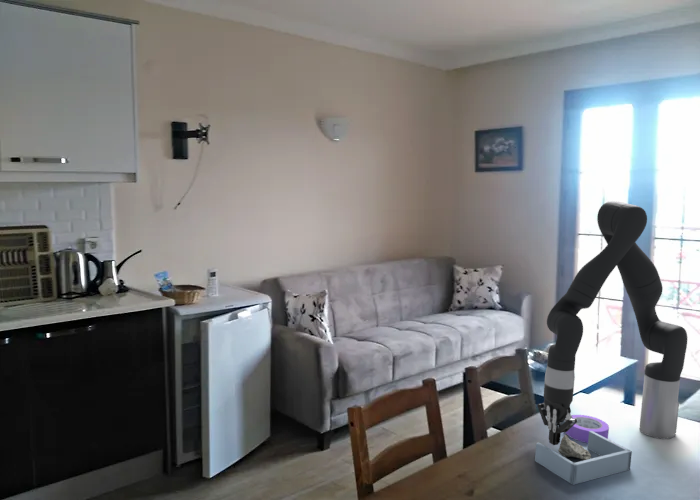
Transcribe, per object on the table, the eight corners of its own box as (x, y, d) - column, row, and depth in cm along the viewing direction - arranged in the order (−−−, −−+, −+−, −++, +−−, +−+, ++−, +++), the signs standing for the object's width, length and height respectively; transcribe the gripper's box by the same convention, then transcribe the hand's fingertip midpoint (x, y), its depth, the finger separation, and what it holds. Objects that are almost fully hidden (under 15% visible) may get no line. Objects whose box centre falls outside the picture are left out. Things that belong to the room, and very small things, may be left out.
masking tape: (612, 434, 173) (613, 422, 173) (601, 448, 164) (602, 435, 163) (572, 423, 180) (573, 411, 180) (559, 435, 171) (560, 423, 171)
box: (590, 447, 163) (591, 430, 163) (630, 469, 152) (631, 451, 151) (534, 460, 155) (536, 442, 154) (572, 484, 143) (574, 465, 142)
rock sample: (598, 455, 151) (575, 425, 155) (573, 471, 152) (551, 441, 156) (598, 456, 160) (576, 427, 164) (574, 471, 161) (553, 443, 165)
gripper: (588, 390, 155) (582, 452, 157) (552, 373, 167) (547, 431, 169) (567, 393, 152) (561, 456, 154) (531, 376, 164) (526, 435, 166)
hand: (553, 443), depth 162 cm, fingers closed
